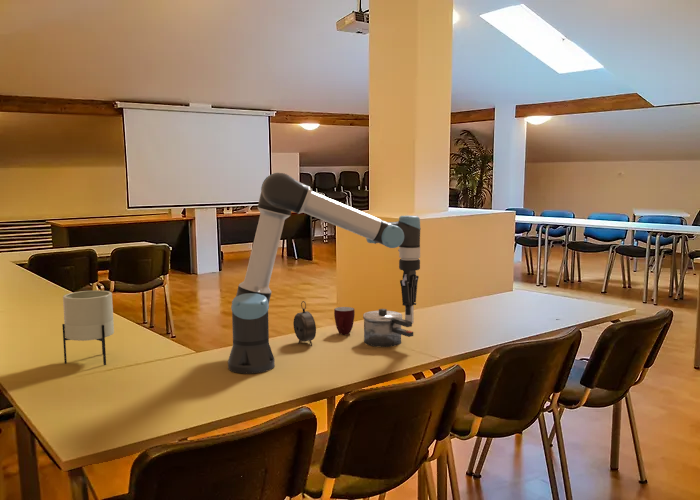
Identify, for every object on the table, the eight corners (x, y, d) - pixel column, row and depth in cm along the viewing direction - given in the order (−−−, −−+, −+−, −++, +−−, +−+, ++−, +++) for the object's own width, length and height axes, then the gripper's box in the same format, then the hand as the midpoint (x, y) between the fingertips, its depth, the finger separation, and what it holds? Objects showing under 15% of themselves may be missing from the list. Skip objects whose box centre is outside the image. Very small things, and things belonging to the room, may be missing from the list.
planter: (65, 357, 212) (61, 292, 209) (114, 352, 218) (111, 289, 216) (63, 370, 198) (59, 300, 196) (116, 364, 204) (112, 296, 202)
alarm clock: (317, 346, 226) (316, 302, 224) (304, 348, 223) (303, 304, 221) (303, 339, 235) (303, 297, 233) (291, 341, 233) (290, 299, 231)
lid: (392, 329, 212) (392, 320, 212) (355, 316, 232) (355, 308, 232) (425, 324, 220) (425, 315, 220) (386, 312, 240) (387, 304, 240)
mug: (352, 338, 237) (352, 312, 236) (332, 337, 238) (332, 312, 237) (355, 331, 247) (355, 307, 246) (335, 330, 248) (335, 306, 247)
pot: (396, 354, 214) (396, 329, 213) (356, 340, 233) (356, 317, 232) (425, 348, 222) (425, 324, 221) (385, 335, 241) (385, 312, 240)
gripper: (406, 256, 227) (406, 318, 230) (393, 260, 215) (392, 325, 218) (425, 257, 224) (425, 320, 226) (413, 261, 212) (412, 328, 215)
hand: (409, 322), depth 222 cm, fingers closed
